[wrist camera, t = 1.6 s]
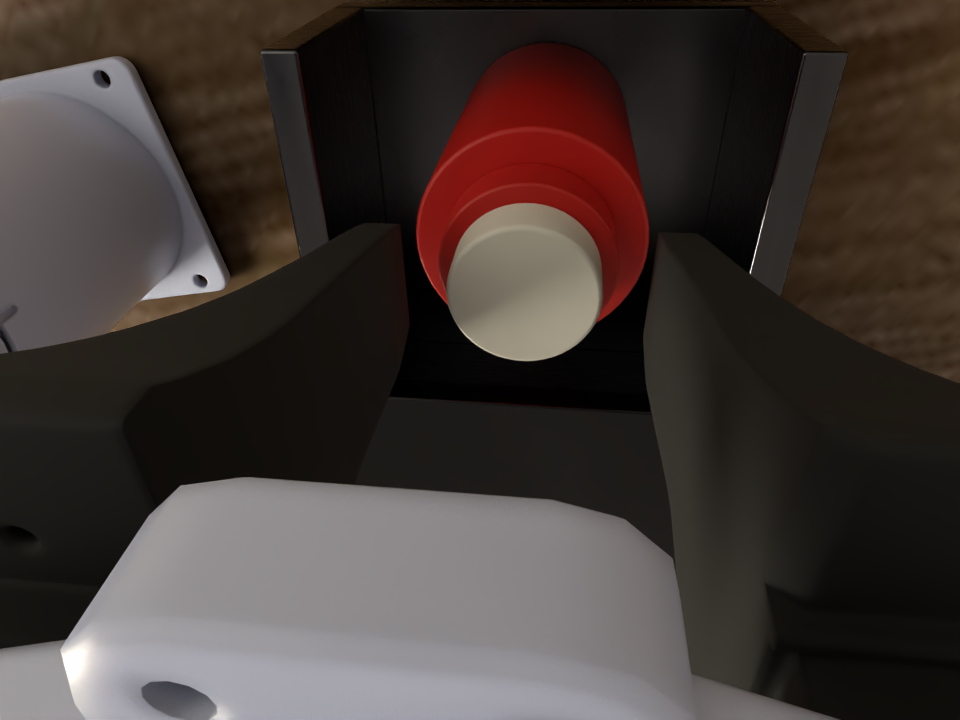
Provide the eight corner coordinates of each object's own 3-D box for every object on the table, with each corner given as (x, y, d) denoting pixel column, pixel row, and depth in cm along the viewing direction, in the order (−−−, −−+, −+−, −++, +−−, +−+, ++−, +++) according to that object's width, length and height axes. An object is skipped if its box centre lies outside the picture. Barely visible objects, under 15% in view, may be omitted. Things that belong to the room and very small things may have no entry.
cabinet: (346, 245, 23) (257, 389, 17) (750, 259, 22) (823, 423, 15) (387, 524, 32) (339, 691, 25) (681, 547, 31) (709, 731, 24)
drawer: (263, -392, 14) (83, -542, 9) (900, -436, 13) (1119, -641, 7) (367, 339, 25) (312, 460, 20) (717, 356, 23) (756, 492, 18)
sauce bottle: (481, 215, 20) (426, 411, 13) (448, 58, 18) (359, 191, 10) (632, 194, 19) (665, 392, 12) (620, 26, 17) (653, 147, 9)
